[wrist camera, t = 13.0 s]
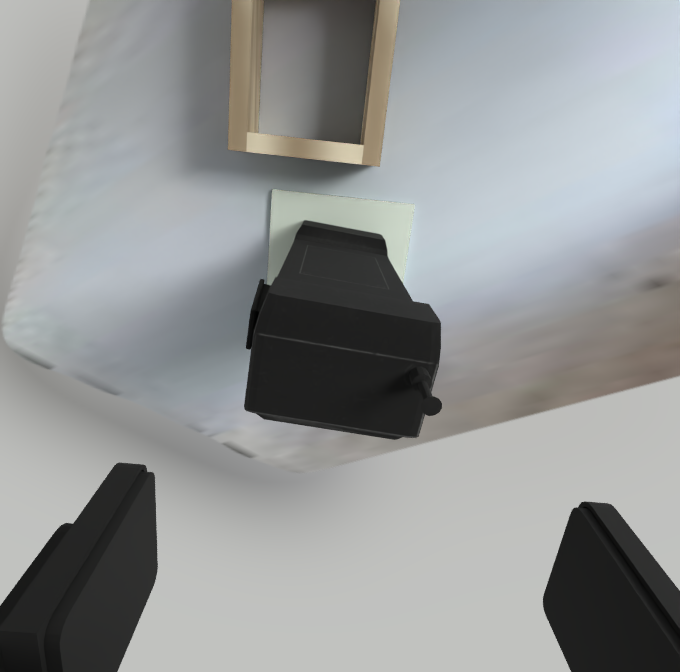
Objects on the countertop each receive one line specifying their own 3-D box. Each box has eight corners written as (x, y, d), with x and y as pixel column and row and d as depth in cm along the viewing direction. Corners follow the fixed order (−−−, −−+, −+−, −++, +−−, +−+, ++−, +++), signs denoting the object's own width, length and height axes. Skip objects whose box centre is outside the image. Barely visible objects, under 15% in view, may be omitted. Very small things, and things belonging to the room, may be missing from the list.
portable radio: (275, 290, 40) (196, 476, 17) (287, 216, 38) (214, 307, 15) (370, 307, 41) (422, 509, 17) (386, 234, 39) (469, 351, 15)
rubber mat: (414, 204, 38) (414, 204, 38) (394, 336, 42) (394, 338, 42) (272, 189, 38) (272, 189, 37) (265, 324, 42) (264, 326, 41)
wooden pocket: (396, -21, 33) (406, -51, 29) (373, 165, 37) (379, 166, 33) (247, -41, 33) (233, -74, 28) (241, 151, 37) (227, 149, 32)
